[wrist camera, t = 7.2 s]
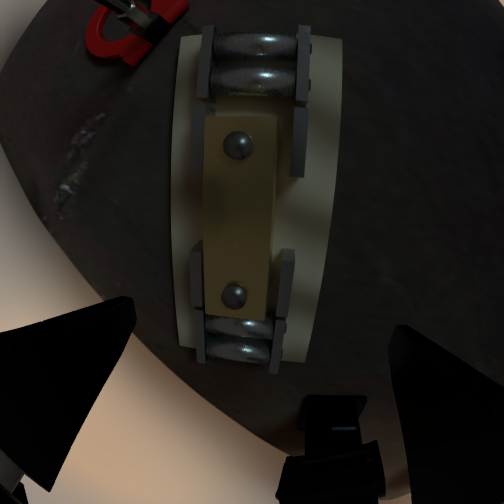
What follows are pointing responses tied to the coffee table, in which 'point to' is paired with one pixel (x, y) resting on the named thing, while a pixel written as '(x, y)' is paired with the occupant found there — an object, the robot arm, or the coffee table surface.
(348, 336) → the coffee table surface
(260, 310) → the tapered knobbed panel
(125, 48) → the gray post stand
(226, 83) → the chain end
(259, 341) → the chain end
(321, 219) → the board
